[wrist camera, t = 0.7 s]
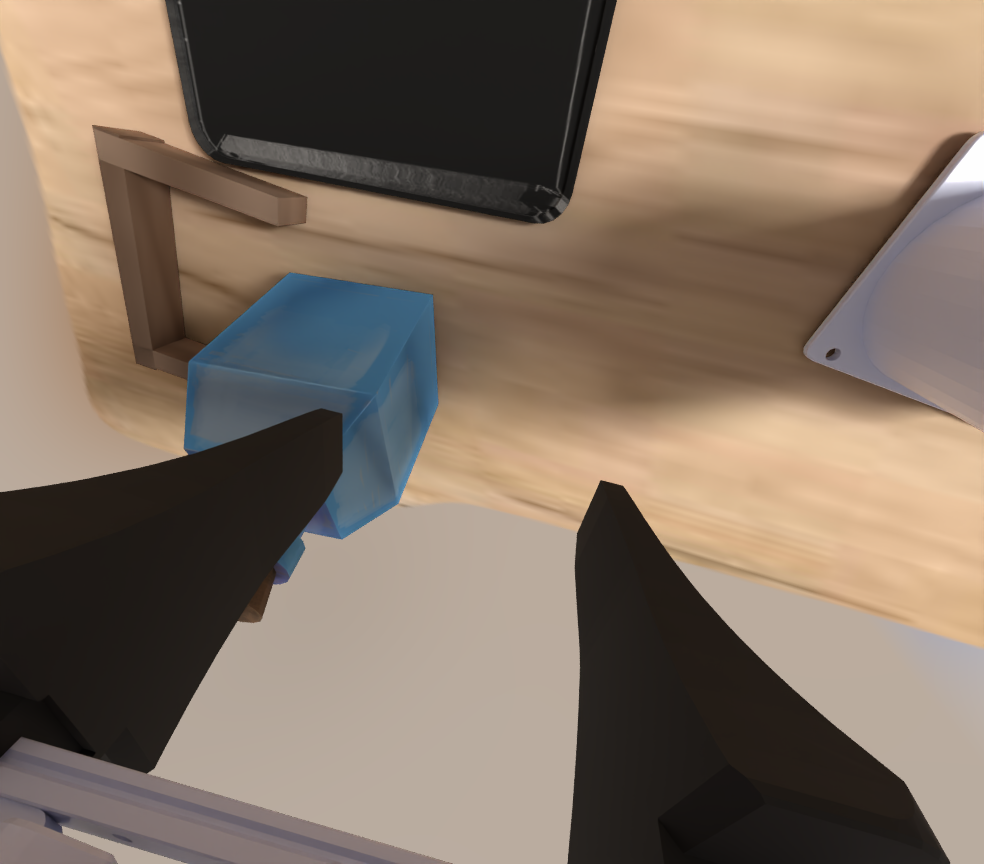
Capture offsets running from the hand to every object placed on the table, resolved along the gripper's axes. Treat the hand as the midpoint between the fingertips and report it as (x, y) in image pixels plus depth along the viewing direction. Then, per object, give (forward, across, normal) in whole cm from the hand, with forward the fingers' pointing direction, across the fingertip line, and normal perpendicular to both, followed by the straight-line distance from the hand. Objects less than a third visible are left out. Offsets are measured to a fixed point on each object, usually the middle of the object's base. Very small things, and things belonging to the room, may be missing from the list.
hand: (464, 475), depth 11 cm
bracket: (+9, +13, 0) cm, 16 cm away
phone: (+10, +7, -9) cm, 15 cm away
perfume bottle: (+9, +6, +1) cm, 11 cm away
